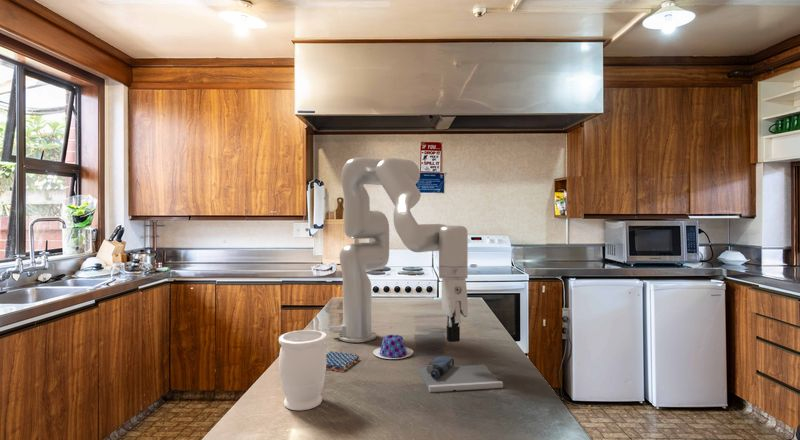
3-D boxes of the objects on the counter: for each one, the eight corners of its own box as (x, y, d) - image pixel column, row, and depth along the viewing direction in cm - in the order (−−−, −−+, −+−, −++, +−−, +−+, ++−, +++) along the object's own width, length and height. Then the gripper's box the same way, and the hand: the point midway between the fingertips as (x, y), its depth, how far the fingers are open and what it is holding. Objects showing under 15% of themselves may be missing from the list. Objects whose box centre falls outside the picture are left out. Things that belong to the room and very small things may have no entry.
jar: (283, 393, 102) (283, 329, 102) (328, 391, 103) (328, 328, 103) (274, 414, 92) (274, 343, 91) (324, 412, 92) (324, 342, 92)
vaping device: (455, 366, 118) (438, 381, 107) (437, 364, 121) (419, 379, 110) (455, 356, 118) (437, 371, 108) (437, 355, 121) (418, 368, 110)
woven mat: (309, 369, 119) (309, 361, 119) (329, 357, 129) (329, 350, 129) (343, 374, 115) (342, 366, 115) (361, 361, 125) (361, 354, 125)
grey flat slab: (429, 392, 103) (429, 387, 103) (418, 370, 117) (418, 365, 117) (503, 387, 105) (503, 382, 105) (483, 366, 119) (484, 362, 119)
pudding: (374, 347, 137) (374, 331, 137) (413, 348, 136) (413, 331, 136) (371, 361, 125) (371, 343, 125) (413, 361, 124) (413, 343, 124)
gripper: (475, 276, 109) (475, 349, 109) (459, 268, 124) (459, 332, 124) (445, 276, 108) (445, 350, 108) (433, 268, 123) (433, 333, 123)
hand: (453, 340), depth 116 cm, fingers closed
